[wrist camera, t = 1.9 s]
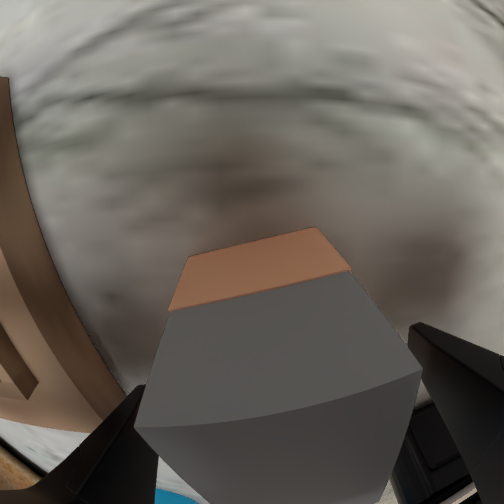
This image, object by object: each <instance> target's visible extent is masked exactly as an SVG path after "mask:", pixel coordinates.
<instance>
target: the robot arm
mask: <svg viewBox="0 0 504 504" xmlns="http://www.w3.org/2000/svg"><path fill="white" fill-rule="evenodd" d="M408 348H409V350H410V351H411V352H412V354H413V355H414V357H415V358H416V359H417V361H418V362H419V364H420V365H421V367H422V368H423V371H422V375H421V379H422V381H423V384H424V385H425V387H426V389H427V391H428V393H429V394H430V396H431V398H432V400H433V402H434V403H433V404H431V405H429V406H427V407H425V408H422V409H420V410H418V411H416V412H413V413H412V415H411V418H410V422H409V425H408V428H407V431H406V435H405V438H404V441H403V443H402V446H401V449H400V452H399V455H398V457H397V460H396V463H395V465H394V468H393V470H392V473H391V475H390V478H389V479H390V482H391V485H392V487H393V490H394V493H395V496H396V498H397V501H398V504H452V503H453V502H455V501H456V500H458V499H459V498H461V497H462V496H464V495H466V494H467V493H469V492H470V491H472V490H473V489H474V488H476V489H477V492H476V493H475V494H473V495H472V496H470V497H469V498H467V499H465V500H464V501H462V502H461V503H459V504H504V356H502V355H500V356H499V354H497V353H495V352H492V351H490V350H487V349H485V348H482V347H480V346H478V345H475V344H473V343H470V342H468V341H466V340H463V339H461V338H458V337H456V336H453V335H451V334H449V333H446V332H444V331H441V330H439V329H436V328H434V327H432V326H429V325H427V324H424V323H422V322H418V323H416V324H413V325H411V326H410V327H409V334H408ZM145 387H146V384H145V385H138V386H137V387H136V388H135V389H134V390H133V391H132V392H131V393H130V394H129V395H128V396H127V397H126V398H125V399H124V400H123V401H122V402H121V403H120V404H119V405H118V406H117V407H116V408H115V409H114V410H113V411H112V412H111V413H110V414H109V416H108V417H107V418H106V419H105V420H104V421H103V422H102V423H101V424H100V425H99V426H98V427H97V428H96V429H95V430H94V431H93V432H92V433H91V434H90V435H89V436H88V437H87V438H86V439H85V440H84V441H83V442H82V443H81V444H80V445H79V447H77V448H76V449H75V450H74V451H73V452H72V453H71V454H70V455H69V456H68V457H67V458H66V459H65V460H64V461H63V462H61V463H60V464H59V465H58V466H57V467H56V468H54V469H53V470H52V471H51V472H50V473H48V474H47V475H46V476H45V477H43V478H42V479H41V480H40V481H38V482H37V483H36V484H34V485H33V486H31V487H28V488H25V489H16V490H0V504H155V491H156V479H157V468H158V458H159V455H158V454H157V453H156V452H155V451H154V450H153V449H152V448H151V447H150V446H149V444H148V443H147V442H146V441H145V440H144V439H143V438H142V437H141V435H140V434H139V433H138V432H137V431H136V430H135V428H134V424H135V421H136V417H137V414H138V410H139V407H140V403H141V400H142V397H143V393H144V390H145Z"/></svg>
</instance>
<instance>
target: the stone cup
mask: <svg viewBox="0 0 504 504" xmlns="http://www.w3.org/2000/svg"><path fill="white" fill-rule="evenodd" d="M41 479H42V477H41V476H40V475H38V474H37V473H35V472H34V471H33V470H31V469H30V468H29V467H28V466H26V465H25V464H24V463H22V462H21V461H20V460H18V459H17V458H16V457H15V456H13V455H12V454H11V453H10V452H8V451H7V450H6V449H4V448H3V447H2V446H1V445H0V490H16V489H25V488H28V487H31V486H33V485H34V484H36V483H37V482H38V481H40V480H41Z"/></svg>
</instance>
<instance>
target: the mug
mask: <svg viewBox="0 0 504 504" xmlns="http://www.w3.org/2000/svg"><path fill="white" fill-rule="evenodd" d="M155 504H198V503H197V502H195V501H194V500H192V499H189V498H187V497H185V496H182V495H179V494H176V493H172V492H169V491H165V490H160V489H156V491H155Z"/></svg>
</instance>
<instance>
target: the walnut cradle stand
mask: <svg viewBox="0 0 504 504" xmlns="http://www.w3.org/2000/svg"><path fill="white" fill-rule="evenodd" d="M126 397H127V396H126V395H125V393H124V392H123V390H122V389H121V388H120V386H119V385H118V383H117V382H116V380H115V379H114V377H113V376H112V374H111V373H110V371H109V370H108V368H107V366H106V365H105V363H104V362H103V360H102V358H101V357H100V355H99V353H98V352H97V350H96V348H95V347H94V345H93V343H92V342H91V340H90V338H89V336H88V335H87V333H86V331H85V329H84V327H83V326H82V324H81V322H80V320H79V318H78V316H77V314H76V312H75V310H74V308H73V306H72V304H71V302H70V300H69V298H68V296H67V294H66V292H65V290H64V288H63V285H62V283H61V281H60V279H59V277H58V274H57V272H56V270H55V267H54V265H53V262H52V260H51V258H50V255H49V253H48V250H47V247H46V245H45V242H44V239H43V237H42V234H41V231H40V228H39V225H38V223H37V220H36V216H35V213H34V210H33V207H32V204H31V200H30V197H29V194H28V190H27V186H26V183H25V179H24V175H23V171H22V167H21V162H20V158H19V153H18V148H17V143H16V138H15V132H14V126H13V119H12V112H11V104H10V94H9V82H8V78H6V77H0V418H2V419H6V420H10V421H15V422H19V423H24V424H29V425H34V426H40V427H46V428H52V429H59V430H66V431H74V432H84V433H92V432H93V431H94V430H95V429H96V428H97V427H98V426H99V425H100V424H101V423H102V422H103V421H104V420H105V419H106V418H107V417H108V416H109V414H110V413H111V412H112V411H113V410H114V409H115V408H116V407H117V406H118V405H119V404H120V403H121V402H122V401H123V400H124V399H125V398H126Z"/></svg>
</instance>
